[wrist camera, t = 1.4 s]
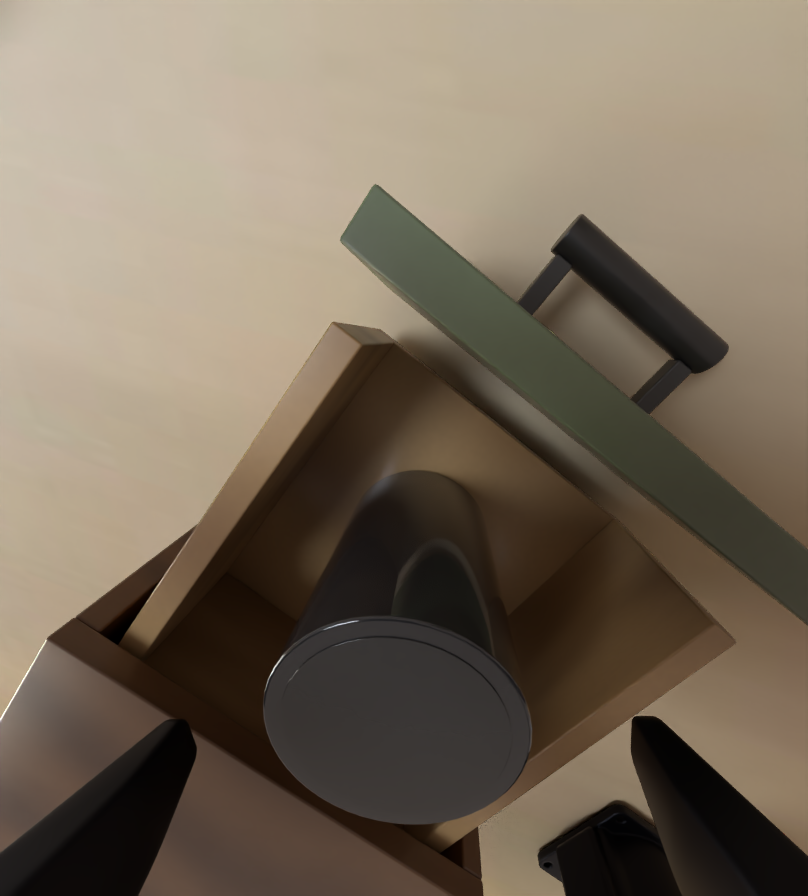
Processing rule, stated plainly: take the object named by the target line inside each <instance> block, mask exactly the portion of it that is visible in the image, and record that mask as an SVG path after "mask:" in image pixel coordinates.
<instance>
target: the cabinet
mask: <svg viewBox="0 0 808 896" xmlns="http://www.w3.org/2000/svg"><path fill="white" fill-rule="evenodd" d="M197 525H198V524H197ZM197 525H196V526H197ZM196 526H194V527H193V528H192V529H191V530H189V531H188V532H187V533H185V534H184V535H183V536H181V537H180V538H179V539H177V540H176V541H175V542H173V543H172V544H171V545H169V546H168V547H167V548H165V549H164V550H163V551H161V552H160V553H159V554H158V555H156V556H155V557H154V558H152V559H151V560H150V561H148V562H147V563H146V564H144V565H143V566H142V567H140V568H139V569H138V570H136V571H135V572H134V573H132V574H131V575H130V576H128V577H127V578H126V579H125V580H123V581H122V582H121V583H119V584H118V585H117V586H115V587H114V588H113V589H111V590H110V591H109V592H107V593H106V594H105V595H103V596H102V597H101V598H99V599H98V600H97V601H96V602H94V603H93V604H92V605H90V606H89V607H88V608H86V609H85V610H84V611H82V612H81V613H80V614H78V615H77V616H76V618H73V619H71V620H70V621H69V622H67V623H66V624H65V625H63V626H62V627H61V628H59V629H58V630H57V631H55V632H54V633H53V634H51V635H50V636H49V637H48V638H47V639H46V641H45V642H44V644H43V646H42V648H41V649H40V651H39V653H38V655H37V656H36V658H35V660H34V662H33V663H32V665H31V667H30V669H29V670H28V672H27V674H26V675H25V677H24V679H23V681H22V682H21V684H20V686H19V688H18V689H17V691H16V693H15V695H14V696H13V698H12V700H11V702H10V703H9V705H8V707H7V709H6V710H5V712H4V714H3V716H2V717H1V719H0V852H2V851H3V850H4V849H5V848H6V847H8V846H9V845H10V844H11V843H13V842H14V841H15V840H16V839H18V838H19V837H20V836H21V835H23V834H24V833H25V832H26V831H28V830H29V829H30V828H31V827H33V826H34V825H35V824H36V823H38V822H39V821H40V820H41V819H43V818H44V817H45V816H46V815H48V814H49V813H50V812H51V811H53V810H54V809H55V808H56V807H58V806H59V805H60V804H61V803H63V802H64V801H65V800H66V799H68V798H69V797H70V796H71V795H73V794H74V793H75V792H76V791H78V790H79V789H80V788H81V787H83V786H84V785H85V784H86V783H88V782H89V781H90V780H91V779H93V778H94V777H95V776H96V775H98V774H99V773H100V772H101V771H103V770H104V769H105V768H106V767H108V766H109V765H110V764H111V763H113V762H114V761H115V760H116V759H118V758H119V757H120V756H121V755H123V754H124V753H125V752H126V751H127V750H129V749H130V748H131V747H132V746H134V745H135V744H136V743H137V742H139V741H140V740H141V739H142V738H144V737H145V736H146V735H147V734H149V733H150V732H151V731H152V730H154V729H155V728H156V727H157V726H159V725H160V724H161V723H163V722H164V721H166V720H169V719H185V720H186V721H187V722H188V723H189V726H190V729H191V732H192V734H193V737H194V740H195V743H196V746H197V755H196V759H195V762H194V765H193V767H192V770H191V772H190V775H189V777H188V780H187V783H186V785H185V788H184V790H183V793H182V795H181V798H180V800H179V803H178V805H177V808H176V810H175V813H174V815H173V818H172V820H171V823H170V826H169V828H168V831H167V833H166V836H165V838H164V841H163V843H162V845H161V848H160V850H159V852H158V855H157V857H156V859H155V861H154V864H153V866H152V868H151V870H150V872H149V875H148V877H147V879H146V881H145V883H144V885H143V887H142V889H141V891H140V893H139V895H138V896H483V883H482V881H481V878H482V874H481V860H480V847H479V833H478V827H476V828H475V829H473V830H472V831H471V832H469V833H468V834H466V835H465V836H464V837H462V838H461V839H459V840H458V841H456V842H455V843H454V844H452V845H451V846H449V847H448V848H447V849H445V850H444V851H442V852H441V853H440V854H439V853H438V852H436V851H435V850H433V849H432V848H430V847H429V846H427V845H426V844H424V843H422V842H421V841H419V840H418V839H416V838H415V837H413V836H412V835H410V834H409V833H407V832H405V831H404V830H402V829H401V828H399V827H398V826H396V825H395V824H393V823H388V822H382V821H377V820H373V819H369V818H365V817H362V816H359V815H356V814H353V813H350V812H348V811H345V810H343V809H341V808H339V807H337V806H334V805H332V804H331V803H329V802H327V801H325V800H324V799H322V798H320V797H319V796H317V795H316V794H315V793H313V792H312V791H310V790H309V789H308V788H306V787H305V786H304V785H303V784H302V783H301V782H299V781H298V780H297V779H296V778H295V777H294V776H293V775H292V774H291V772H290V771H289V770H288V769H287V768H286V767H285V765H284V764H283V763H282V761H281V760H280V759H279V757H278V756H277V754H276V752H275V750H274V748H273V746H272V745H271V744H270V743H268V742H266V741H265V740H263V739H262V738H260V737H259V736H257V735H256V734H254V733H253V732H251V731H249V730H248V729H246V728H245V727H243V726H242V725H240V724H239V723H237V722H236V721H234V720H232V719H231V718H229V717H228V716H226V715H225V714H223V713H222V712H220V711H219V710H217V709H215V708H214V707H212V706H211V705H209V704H208V703H206V702H205V701H203V700H202V699H200V698H198V697H197V696H195V695H194V694H192V693H191V692H189V691H188V690H186V689H185V688H183V687H181V686H180V685H178V684H177V683H175V682H174V681H172V680H171V679H169V678H168V677H166V676H164V675H163V674H161V673H160V672H158V671H157V670H155V669H154V668H152V667H151V666H149V665H147V664H146V663H144V662H143V661H141V660H140V659H138V658H137V657H135V656H134V655H132V654H130V653H129V652H127V651H126V650H124V649H123V648H121V647H120V646H118V644H119V643H120V641H121V640H122V638H123V636H124V635H125V633H126V632H127V630H128V629H129V627H130V626H131V624H132V623H133V621H134V620H135V618H136V617H137V615H138V614H139V612H140V611H141V609H142V608H143V606H144V605H145V603H146V602H147V600H148V599H149V597H150V596H151V594H152V593H153V591H154V590H155V588H156V587H157V585H158V584H159V582H160V581H161V579H162V578H163V576H164V575H165V573H166V572H167V570H168V569H169V567H170V566H171V564H172V563H173V561H174V560H175V558H176V557H177V555H178V554H179V552H180V551H181V549H182V548H183V546H184V545H185V543H186V542H187V540H188V539H189V537H190V536H191V534H192V533H193V531H194V529H195V528H196Z"/></svg>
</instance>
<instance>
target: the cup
mask: <svg viewBox="0 0 808 896" xmlns="http://www.w3.org/2000/svg"><path fill="white" fill-rule="evenodd" d="M263 715H264V722H265V727H266V732H267V734H268V737H269V740H270V742H271V745H272V746H273V748H274V750H275V752H276V754H277V756H278V757H279V759H280V760H281V761H282V763H283V764H284V765H285V767H286V768H287V769H288V770H289V771H290V772H291V774H292V775H293V776H294V777H295V778H296V779H297V780H298V781H299V782H301V783H302V784H303V785H304V786H305V787H306V788H308V789H309V790H310V791H312V792H313V793H315V794H316V795H317V796H319V797H320V798H322V799H324V800H325V801H327V802H329V803H331V804H332V805H334V806H337V807H339V808H341V809H343V810H345V811H348V812H350V813H353V814H356V815H359V816H362V817H365V818H369V819H373V820H377V821H382V822H388V823H395V824H409V825H416V824H433V823H442V822H446V821H451V820H456V819H459V818H462V817H465V816H468V815H471V814H473V813H475V812H477V811H480V810H482V809H484V808H485V807H487V806H489V805H490V804H492V803H493V802H495V801H497V800H498V799H499V798H500V797H501V796H503V795H504V794H505V793H506V792H507V791H508V790H509V789H510V788H511V787H512V786H513V784H514V783H515V782H516V781H517V779H518V778H519V776H520V775H521V773H522V771H523V770H524V767H525V765H526V762H527V760H528V758H529V753H530V748H531V744H532V721H531V714H530V710H529V706H528V701H527V697H526V693H525V689H524V684H523V680H522V676H521V672H520V667H519V663H518V659H517V655H516V651H515V646H514V642H513V638H512V634H511V629H510V625H509V621H508V617H507V612H506V608H505V604H504V600H503V596H502V591H501V587H500V583H499V579H498V574H497V570H496V566H495V562H494V557H493V553H492V549H491V545H490V541H489V536H488V532H487V528H486V524H485V520H484V517H483V513H482V511H481V509H480V507H479V505H478V504H477V502H476V501H475V499H474V498H473V497H472V496H471V494H470V493H469V492H468V491H467V490H466V489H464V488H463V487H462V486H461V485H459V484H458V483H456V482H455V481H453V480H451V479H449V478H447V477H445V476H442V475H440V474H437V473H432V472H428V471H405V472H399V473H396V474H392V475H390V476H387V477H385V478H383V479H381V480H380V481H378V482H376V483H375V484H374V485H372V486H371V487H370V488H369V489H368V490H367V491H366V492H365V493H364V494H363V496H362V497H361V498H360V500H359V501H358V503H357V505H356V507H355V509H354V511H353V513H352V515H351V517H350V519H349V521H348V523H347V525H346V527H345V529H344V531H343V533H342V535H341V537H340V538H339V540H338V542H337V544H336V546H335V548H334V550H333V552H332V554H331V556H330V558H329V560H328V562H327V564H326V566H325V568H324V570H323V572H322V574H321V576H320V577H319V579H318V581H317V583H316V585H315V587H314V589H313V591H312V593H311V595H310V597H309V599H308V601H307V603H306V605H305V607H304V609H303V611H302V613H301V614H300V616H299V618H298V620H297V622H296V624H295V626H294V628H293V630H292V632H291V634H290V636H289V638H288V640H287V642H286V644H285V646H284V648H283V650H282V652H281V653H280V655H279V657H278V659H277V661H276V663H275V665H274V667H273V669H272V671H271V673H270V675H269V677H268V680H267V684H266V687H265V691H264V700H263Z"/></svg>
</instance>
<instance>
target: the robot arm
mask: <svg viewBox="0 0 808 896" xmlns="http://www.w3.org/2000/svg"><path fill="white" fill-rule="evenodd" d="M196 755H197V746H196V743H195V740H194V737H193V734H192V732H191V729H190V726H189V723H188V722H187V721H186V720H185V719H169V720H166V721H164V722H163V723H161V724H160V725H159V726H157V727H156V728H155V729H154V730H152V731H151V732H150V733H149V734H147V735H146V736H145V737H144V738H142V739H141V740H140V741H139V742H137V743H136V744H135V745H134V746H132V747H131V748H130V749H129V750H127V751H126V752H125V753H124V754H123V755H121V756H120V757H119V758H118V759H116V760H115V761H114V762H113V763H111V764H110V765H109V766H108V767H106V768H105V769H104V770H103V771H101V772H100V773H99V774H98V775H96V776H95V777H94V778H93V779H91V780H90V781H89V782H88V783H86V784H85V785H84V786H83V787H81V788H80V789H79V790H78V791H76V792H75V793H74V794H73V795H71V796H70V797H69V798H68V799H66V800H65V801H64V802H63V803H61V804H60V805H59V806H58V807H56V808H55V809H54V810H53V811H51V812H50V813H49V814H48V815H46V816H45V817H44V818H43V819H41V820H40V821H39V822H38V823H36V824H35V825H34V826H33V827H31V828H30V829H29V830H28V831H26V832H25V833H24V834H23V835H21V836H20V837H19V838H18V839H16V840H15V841H14V842H13V843H11V844H10V845H9V846H8V847H6V848H5V849H4V850H3V851H2V852H0V896H138V895H139V893H140V891H141V889H142V887H143V885H144V883H145V881H146V879H147V877H148V875H149V872H150V870H151V868H152V866H153V864H154V861H155V859H156V857H157V855H158V852H159V850H160V848H161V845H162V843H163V841H164V838H165V836H166V833H167V831H168V828H169V826H170V823H171V820H172V818H173V815H174V813H175V810H176V808H177V805H178V803H179V800H180V798H181V795H182V793H183V790H184V788H185V785H186V783H187V780H188V777H189V775H190V772H191V770H192V767H193V765H194V762H195V759H196ZM631 755H632V759H633V763H634V766H635V769H636V772H637V774H638V777H639V780H640V783H641V786H642V788H643V791H644V794H645V797H646V800H647V803H648V805H649V808H650V811H651V814H652V817H653V820H654V822H655V825H656V828H657V829H656V828H655V827H653V826H652V825H651V824H649V823H648V822H646V821H645V820H643V819H642V818H641V817H639V816H638V815H636V814H635V813H634V812H632V811H631V810H629V809H628V808H626V807H625V806H623V805H619V804H617V805H613V806H611V807H609V808H608V809H606V810H604V811H603V812H601V813H600V814H598V815H597V816H595V817H593V818H592V819H590V820H589V821H587V822H586V823H584V824H583V825H581V826H579V827H578V828H576V829H575V830H573V831H572V832H570V833H568V834H567V835H565V836H564V837H562V838H561V839H559V840H557V841H556V842H554V843H553V844H551V845H550V846H548V847H546V848H545V849H543V850H542V851H540V852H539V853H538V861H539V866H540V868H542V869H543V870H544V871H546V872H547V873H549V874H550V875H552V876H553V877H555V878H556V879H558V880H559V881H561V882H562V883H563V886H564V891H565V895H566V896H808V856H807V855H806V854H805V853H804V852H803V851H802V850H801V849H800V848H799V847H798V846H796V845H795V844H794V843H793V842H792V841H791V840H790V839H789V838H788V837H787V836H786V835H785V834H784V833H782V832H781V831H780V830H779V829H778V828H777V827H776V826H775V825H774V824H773V823H772V822H771V821H770V820H768V819H767V818H766V817H765V816H764V815H763V814H762V813H761V812H760V811H759V810H758V809H757V808H756V807H754V806H753V805H752V804H751V803H750V802H749V801H748V800H747V799H746V798H745V797H744V796H743V795H742V794H740V793H739V792H738V791H737V790H736V789H735V788H734V787H733V786H732V785H731V784H730V783H729V782H727V781H726V780H725V779H724V778H723V777H722V776H721V775H720V774H719V773H718V772H717V771H716V770H715V769H713V768H712V767H711V766H710V765H709V764H708V763H707V762H706V761H705V760H704V759H703V758H702V757H701V756H699V755H698V754H697V753H696V752H695V751H694V750H693V749H692V748H691V747H690V746H689V745H688V744H687V743H685V742H684V741H683V740H682V739H681V738H680V737H679V736H678V735H677V734H676V733H675V732H674V731H673V730H671V729H670V728H669V727H668V726H667V725H666V724H665V723H664V722H663V721H662V720H660V719H659V718H657V717H654V716H635V717H634V718H633V719H632V729H631Z"/></svg>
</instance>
